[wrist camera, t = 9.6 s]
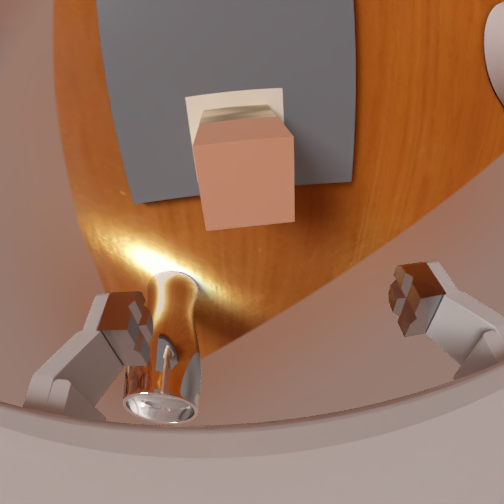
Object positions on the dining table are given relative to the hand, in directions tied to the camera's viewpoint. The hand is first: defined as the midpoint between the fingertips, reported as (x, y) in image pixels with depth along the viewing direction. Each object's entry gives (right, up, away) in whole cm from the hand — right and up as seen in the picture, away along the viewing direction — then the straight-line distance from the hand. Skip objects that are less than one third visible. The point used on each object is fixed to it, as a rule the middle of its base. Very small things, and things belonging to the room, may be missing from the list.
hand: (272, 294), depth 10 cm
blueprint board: (-2, +15, +13) cm, 20 cm away
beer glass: (-10, -3, +26) cm, 28 cm away
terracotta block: (-1, +8, +11) cm, 13 cm away
